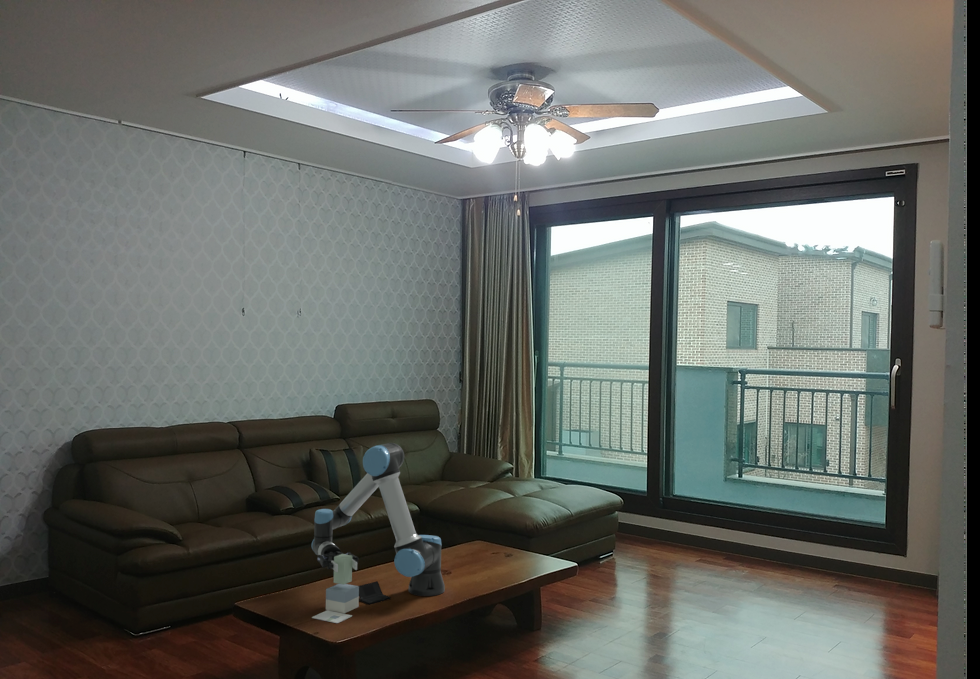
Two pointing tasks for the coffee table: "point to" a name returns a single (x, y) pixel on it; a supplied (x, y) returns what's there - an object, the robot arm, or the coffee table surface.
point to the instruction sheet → (332, 616)
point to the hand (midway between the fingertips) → (346, 567)
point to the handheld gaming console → (371, 593)
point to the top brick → (343, 569)
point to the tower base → (342, 605)
